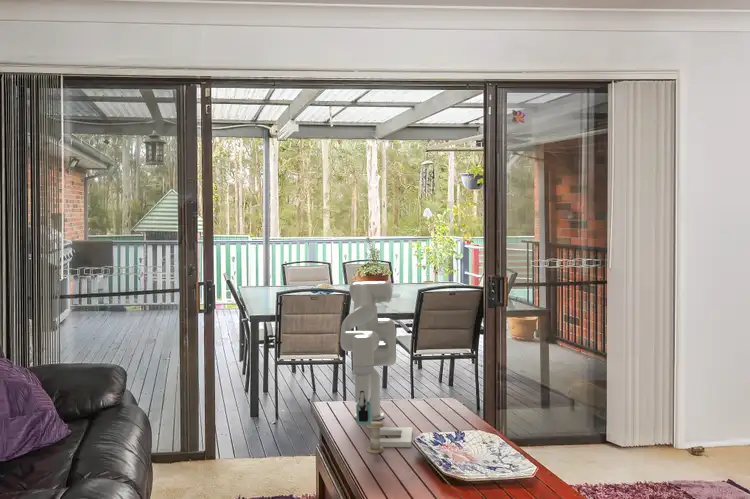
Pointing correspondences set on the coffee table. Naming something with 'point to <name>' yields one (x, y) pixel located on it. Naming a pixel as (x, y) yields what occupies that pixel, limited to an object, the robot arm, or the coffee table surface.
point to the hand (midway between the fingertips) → (364, 418)
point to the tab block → (369, 408)
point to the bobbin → (375, 437)
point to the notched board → (396, 442)
